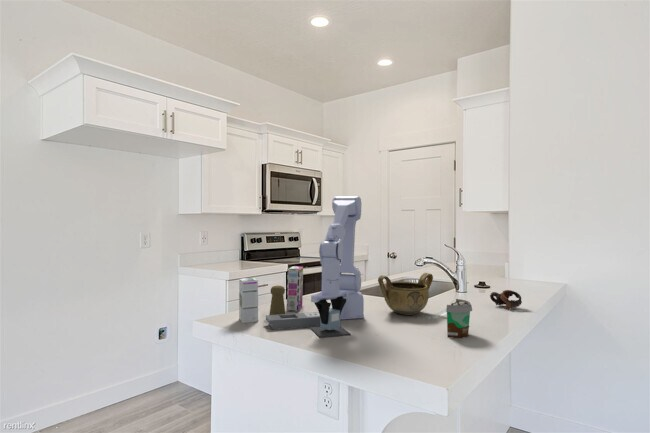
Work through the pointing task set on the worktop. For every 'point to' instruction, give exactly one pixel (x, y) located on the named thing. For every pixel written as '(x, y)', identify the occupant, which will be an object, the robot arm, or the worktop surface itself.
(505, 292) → the dark brown looped piece
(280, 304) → the tan rounded upright piece
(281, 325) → the power strip
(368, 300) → the worktop surface
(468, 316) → the food container
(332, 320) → the block
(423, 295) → the ceramic bowl
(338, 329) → the mat
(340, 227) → the robot arm
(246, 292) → the syrup box
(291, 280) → the candy bar box
